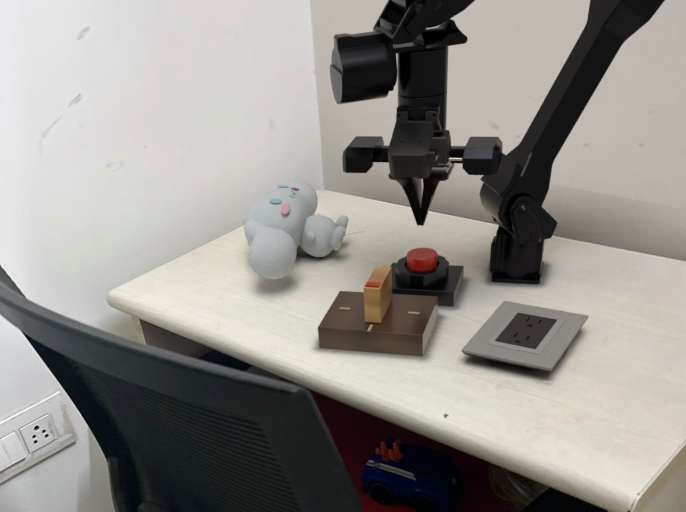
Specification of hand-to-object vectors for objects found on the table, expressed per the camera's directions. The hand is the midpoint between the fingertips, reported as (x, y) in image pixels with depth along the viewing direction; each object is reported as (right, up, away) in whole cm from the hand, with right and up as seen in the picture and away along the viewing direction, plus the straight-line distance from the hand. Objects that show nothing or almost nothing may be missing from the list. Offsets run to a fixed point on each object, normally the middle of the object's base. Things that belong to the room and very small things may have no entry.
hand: (421, 224), depth 99 cm
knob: (-6, -12, -4) cm, 14 cm away
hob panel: (-5, -14, -2) cm, 15 cm away
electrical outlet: (+11, -17, -7) cm, 22 cm away
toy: (-16, +2, +19) cm, 25 cm away
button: (+1, -4, +4) cm, 6 cm away
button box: (+1, -7, +6) cm, 9 cm away
